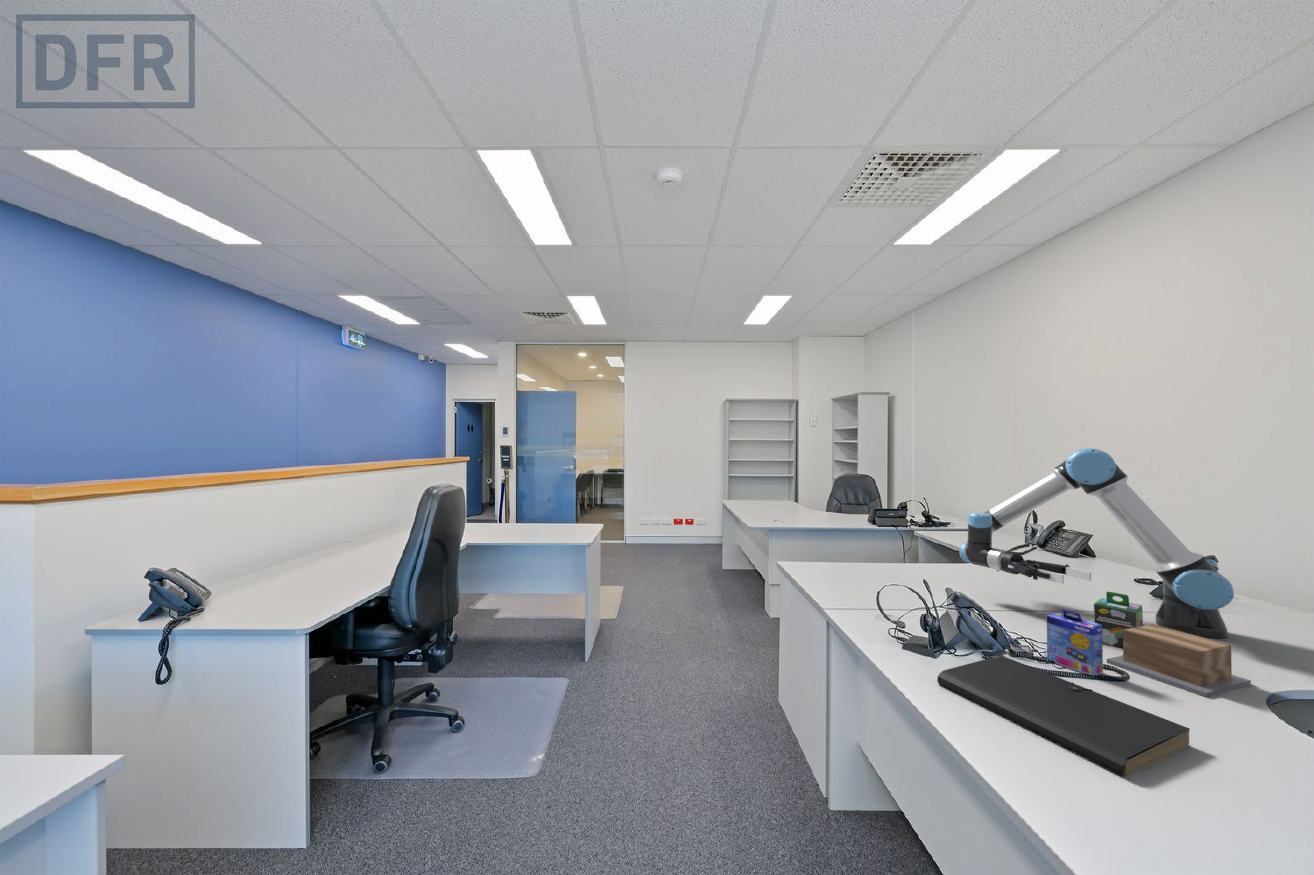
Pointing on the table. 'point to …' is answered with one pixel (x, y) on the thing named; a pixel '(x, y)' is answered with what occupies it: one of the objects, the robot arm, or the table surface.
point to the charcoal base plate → (1203, 690)
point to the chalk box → (1116, 617)
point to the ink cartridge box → (1075, 643)
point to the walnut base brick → (1178, 654)
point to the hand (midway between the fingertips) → (1077, 577)
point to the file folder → (1068, 714)
